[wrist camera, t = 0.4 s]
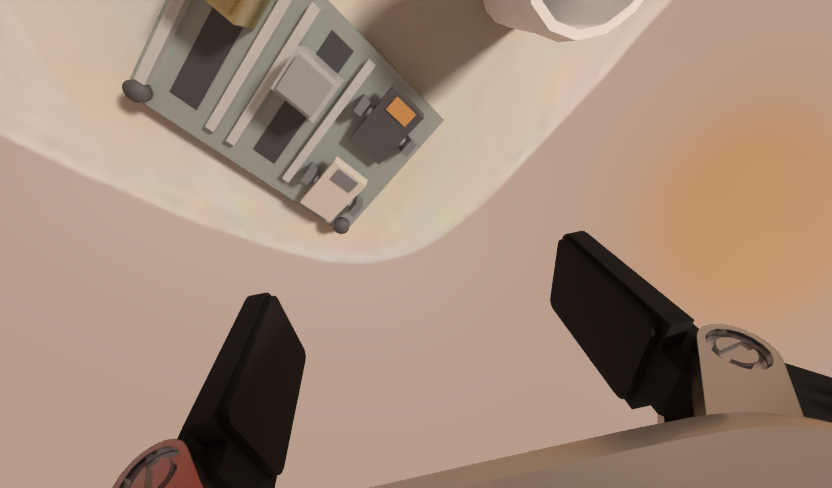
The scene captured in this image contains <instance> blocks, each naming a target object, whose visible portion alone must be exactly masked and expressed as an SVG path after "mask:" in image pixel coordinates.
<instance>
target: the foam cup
mask: <svg viewBox="0 0 832 488" xmlns="http://www.w3.org/2000/svg"><path fill="white" fill-rule="evenodd" d="M642 1H643V0H483V3H484V7H485V11H486V12H487V13H488V15H489V16H490V17H491V18H492V20H493V21H494V22H495V23H498V24H501V25H504V26H506V27H509V28H514V29H518V30H523V31H527V32H531V33H536V34H538V35H541V36H544V37H546V38H549V39H552V40H554V41H557V42H563V41H577V40H581V39H586V38H590V37H595V36H599V35H603V34H607V33H608V32H609V31H611V30H612V29H613V28H614V27H616V26H617V25H618V24H620V23H621V22H622V21H624V20H625V19H626V18H628V17H629V16H630V15H631V14H633V13H634V12H635V11H636V10H637V9H638V7H639V6H640V4H641V3H642Z"/></svg>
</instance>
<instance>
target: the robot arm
mask: <svg viewBox="0 0 832 488" xmlns="http://www.w3.org/2000/svg"><path fill="white" fill-rule="evenodd" d="M550 301H551V306H552V308H553V309H554V311H555V312H556V314H557V315H558V316H559V318H560V319H561V320H562V322H563V323H564V325H565V326H566V327H567V329H568V330H569V331H570V333H571V334H572V335H573V337H574V338H575V339H576V341H577V342H578V344H579V345H580V346H581V348H582V349H583V350H584V352H585V353H586V355H587V356H588V357H589V359H590V360H591V362H592V363H593V364H594V366H595V367H596V368H597V370H598V371H599V372H600V374H601V375H602V376H603V378H604V379H605V380H606V382H607V383H608V385H609V386H610V387H611V389H612V390H613V392H614V393H615V394H616V395H617V396H618V397H619V398H621V399H625V401H626V402H627V403H628V405H629V406H630V407H631V409H636V408H640V407H645V406H649V405H651V406H652V407H653V409H655V411H656V412H657V413H658V424H655V425H650V426H646V427H640V428H635V429H630V430H626V431H621V432H617V433H612V434H608V435H603V436H599V437H594V438H589V439H585V440H580V441H576V442H571V443H566V444H562V445H558V446H553V447H548V448H544V449H539V450H535V451H530V452H526V453H521V454H517V455H512V456H508V457H503V458H499V459H495V460H490V461H486V462H481V463H477V464H472V465H468V466H463V467H459V468H454V469H450V470H446V471H441V472H437V473H432V474H428V475H423V476H419V477H415V478H411V479H406V480H402V481H397V482H393V483H389V484H384V485H380V486H375V487H371V488H832V378H831V377H828V376H825V375H822V374H818V373H815V372H812V371H808V370H806V369H802V368H799V367H796V366H793V365H789V364H786V363H784V361H783V359H782V357H781V355H780V354H779V352H778V351H777V350H776V349H775V348H774V347H773V346H772V345H770V344H769V343H768V342H766V341H765V340H763V339H762V338H760V337H759V336H757V335H755V334H753V333H751V332H748V331H746V330H744V329H740V328H737V327H734V326H729V325H723V324H709V325H706V326H703V327H702V328H701V329H699V328H697V327H696V326H695V325H694V324H693V322H694V319H692V318H691V317H690V316H689V315H688V314H686V313H685V312H684V311H683V310H681V309H680V308H679V307H678V306H676V305H675V304H674V303H673V302H671V301H670V300H669V299H668V298H667V297H665V296H664V295H663V294H662V293H660V292H659V291H658V290H657V289H656V288H654V287H653V286H652V285H651V284H649V283H648V282H647V281H646V280H644V279H643V278H642V277H641V276H639V275H638V274H637V273H636V272H635V271H633V270H632V269H631V268H630V267H628V266H627V265H626V264H625V263H623V262H622V261H621V260H620V259H618V258H617V257H616V256H615V255H614V254H612V253H611V252H610V251H609V250H607V249H606V248H605V247H604V246H602V245H601V244H600V243H599V242H598V241H596V240H595V239H594V238H593V237H591V236H590V235H589V234H588V233H586V232H585V231H579V232H574V233H569V234H566V235H564V236H563V239H561V240H559V242H558V247H557V255H556V262H555V269H554V276H553V283H552V290H551V297H550ZM305 359H306V355H305V350H304V348H303V346H302V344H301V342H300V341H299V338H298V337H297V335H296V333H295V331H294V329H293V327H292V325H291V323H290V321H289V320H288V318H287V315H286V314H285V312H284V310H283V308H282V306H281V304H280V302H279V300H278V298H277V297H276V296H271V295H270V294H269V293H262V294H257V295H252V296H249V297H247V298H246V300H245V302H244V304H243V306H242V308H241V310H240V312H239V314H238V316H237V318H236V320H235V322H234V324H233V326H232V328H231V330H230V332H229V334H228V336H227V338H226V340H225V342H224V344H223V346H222V349H221V350H220V352H219V354H218V356H217V358H216V361H215V363H214V365H213V367H212V369H211V371H210V373H209V375H208V377H207V379H206V381H205V383H204V385H203V387H202V389H201V391H200V393H199V395H198V397H197V399H196V401H195V403H194V405H193V407H192V409H191V411H190V413H189V415H188V417H187V419H186V421H185V423H184V425H183V427H182V430H181V432H180V434H179V436H178V438H177V439H169V440H164V441H162V442H159V443H157V444H155V445H153V446H152V447H150V448H148V449H147V450H145V451H144V452H142V453H141V454H140V455H139V456H138V457H137V458H135V459H134V460H133V461H132V462H131V463H130V464H129V465H128V467H127V468H126V469H125V470H124V471H123V472H122V473H121V475H120V476H119V478H118V479H117V481H116V483H115V484H114V486H113V488H275V483H276V478H277V475H280V474H281V473H282V471H283V469H284V465H285V460H286V455H287V450H288V445H289V440H290V435H291V430H292V424H293V419H294V415H295V410H296V405H297V400H298V395H299V389H300V385H301V380H302V375H303V370H304V365H305Z"/></svg>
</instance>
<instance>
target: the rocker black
mask: <svg viewBox="0 0 832 488" xmlns="http://www.w3.org/2000/svg"><path fill="white" fill-rule="evenodd" d="M365 115H366V118H365V119H364V120H363V121H362V122H361V124H360V125H359V126H358V127H357V128H356V130H355V131H354V132H353V133H352V134H351V136H350V138H349V141H350V142H352V143H353V144H354V145H355V146H356V147H358V148H359V149H360V150H361V151H363V152H364V153H365V154H366V155H367V156H369V157H370V158H371V159H372V160H374V161H375V162H376V163H377V164H378V165H379V164H380V163H381V162H382V161H383V160H384V159H385V158H386V157H387V156H388V155H389V154H390V153H391V152H392V151H393V150H394V149H395V148H396V147H397V146H398V145H400V146H401V145H402V144H403V143H404V142H405V140H406V139H405V137H406V136H407V135H408V134H409V133H410V132H411V131H412V130H413V129H414V128H415V127H416V126H417V125H418V124H419V123H420V122H421V121H422V120H423V119H424V113H423V112H422V111H421V110H420V109H419V108H418V107H417V106H416V105H415V104H414V103H413V102H412V101H411V100H410V99H409V98H408V97H407V96H406V95H405V94H404V93H403V92H402V91H401V90H400V89H399V88H398V87H397V86H396V85H395V84H393V85H392V86H391V87H390V89H389V90H388V91H387V92H386V93H385V95H384V96H383V97H382V98H381V99H380V101H379V102H378V103H377V104H376V105H375V107H374V108H373V109H372V108H371V107H370V108H369V109H368V110H367V112H366V113H365Z"/></svg>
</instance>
